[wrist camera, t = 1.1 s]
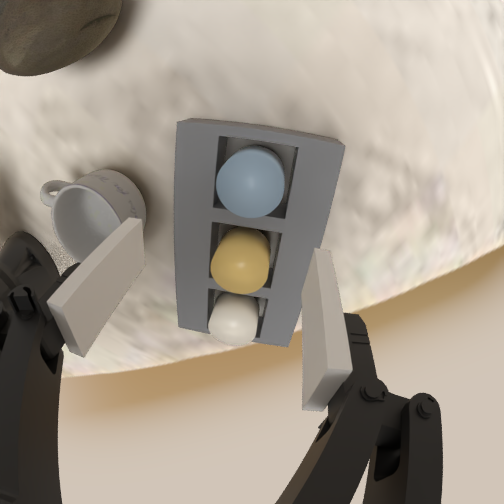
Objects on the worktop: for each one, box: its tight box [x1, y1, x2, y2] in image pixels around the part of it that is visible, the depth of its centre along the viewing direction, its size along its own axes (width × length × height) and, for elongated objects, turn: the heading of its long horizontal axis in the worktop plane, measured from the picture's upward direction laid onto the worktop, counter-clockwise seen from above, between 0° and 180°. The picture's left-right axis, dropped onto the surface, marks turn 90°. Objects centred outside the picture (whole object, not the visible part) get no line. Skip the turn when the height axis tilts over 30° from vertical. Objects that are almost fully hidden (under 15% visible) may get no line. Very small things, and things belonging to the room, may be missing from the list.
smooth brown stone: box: [0, 0, 122, 76], centre depth 13 cm, size 14×14×15 cm
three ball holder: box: [174, 118, 345, 347], centre depth 31 cm, size 15×26×4 cm, turn 173°
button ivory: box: [208, 291, 259, 346], centre depth 33 cm, size 6×6×4 cm
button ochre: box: [210, 227, 271, 294], centre depth 29 cm, size 6×6×4 cm
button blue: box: [216, 146, 285, 218], centre depth 24 cm, size 6×6×4 cm
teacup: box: [40, 169, 146, 263], centre depth 28 cm, size 14×11×8 cm
